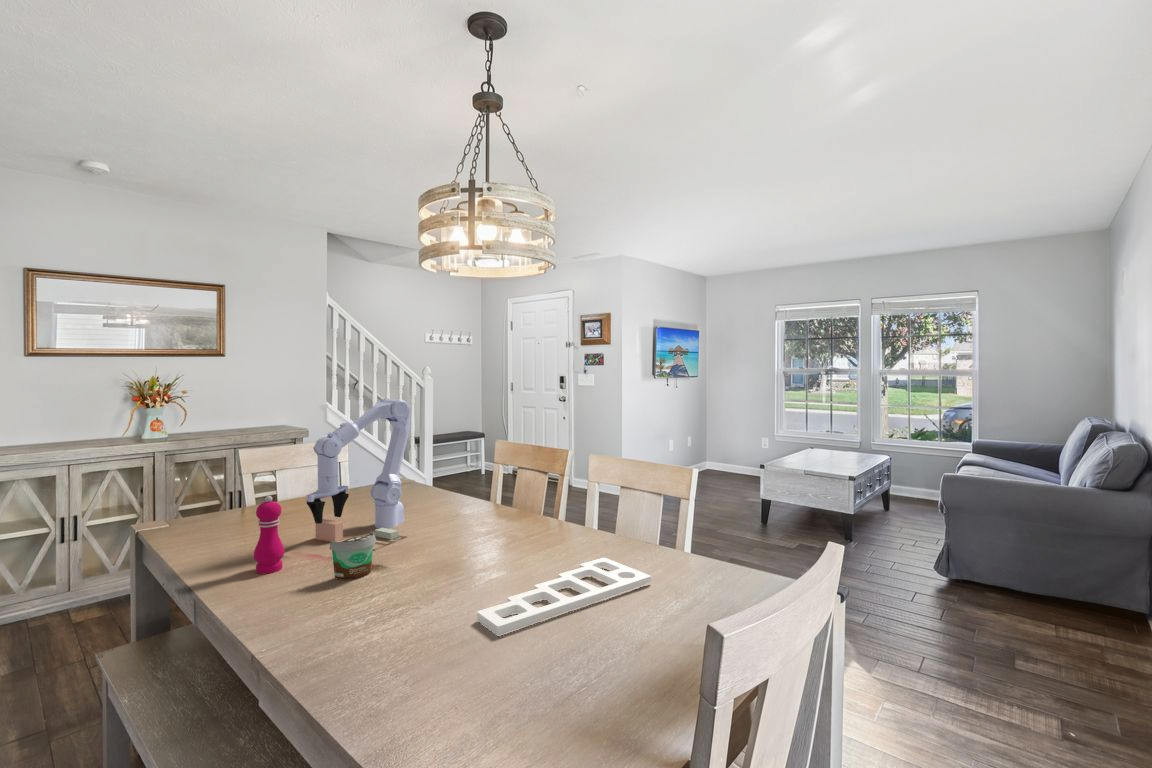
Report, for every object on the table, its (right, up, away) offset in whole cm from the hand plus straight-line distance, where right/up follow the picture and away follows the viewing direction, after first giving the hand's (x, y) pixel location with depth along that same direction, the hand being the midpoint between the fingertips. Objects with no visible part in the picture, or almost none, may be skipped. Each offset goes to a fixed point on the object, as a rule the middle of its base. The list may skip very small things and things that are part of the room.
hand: (328, 519), depth 172 cm
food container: (+19, -9, -26) cm, 34 cm away
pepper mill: (-6, -8, -22) cm, 24 cm away
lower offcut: (+17, -8, +3) cm, 19 cm away
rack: (+15, -8, -2) cm, 17 cm away
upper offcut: (+17, -6, +3) cm, 18 cm away
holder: (+73, -10, -38) cm, 83 cm away
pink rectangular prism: (0, -8, 0) cm, 8 cm away
